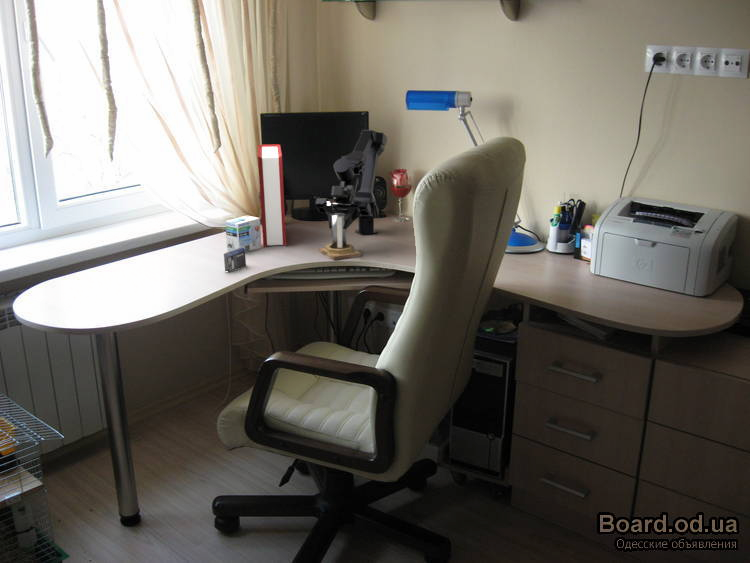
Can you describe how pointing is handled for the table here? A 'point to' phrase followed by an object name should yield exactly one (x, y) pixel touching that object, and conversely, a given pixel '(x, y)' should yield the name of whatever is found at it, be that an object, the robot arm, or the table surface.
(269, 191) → the book
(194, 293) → the table surface
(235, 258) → the mini dv tape
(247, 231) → the light bulb box
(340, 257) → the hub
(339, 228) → the shaft
